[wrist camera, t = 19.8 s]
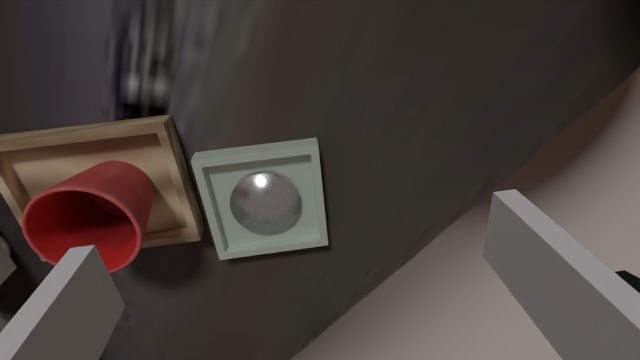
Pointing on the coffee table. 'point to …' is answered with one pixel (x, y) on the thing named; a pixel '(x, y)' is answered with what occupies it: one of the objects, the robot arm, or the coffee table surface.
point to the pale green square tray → (234, 163)
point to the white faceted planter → (5, 260)
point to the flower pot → (92, 214)
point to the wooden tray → (99, 146)
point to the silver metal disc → (265, 202)
